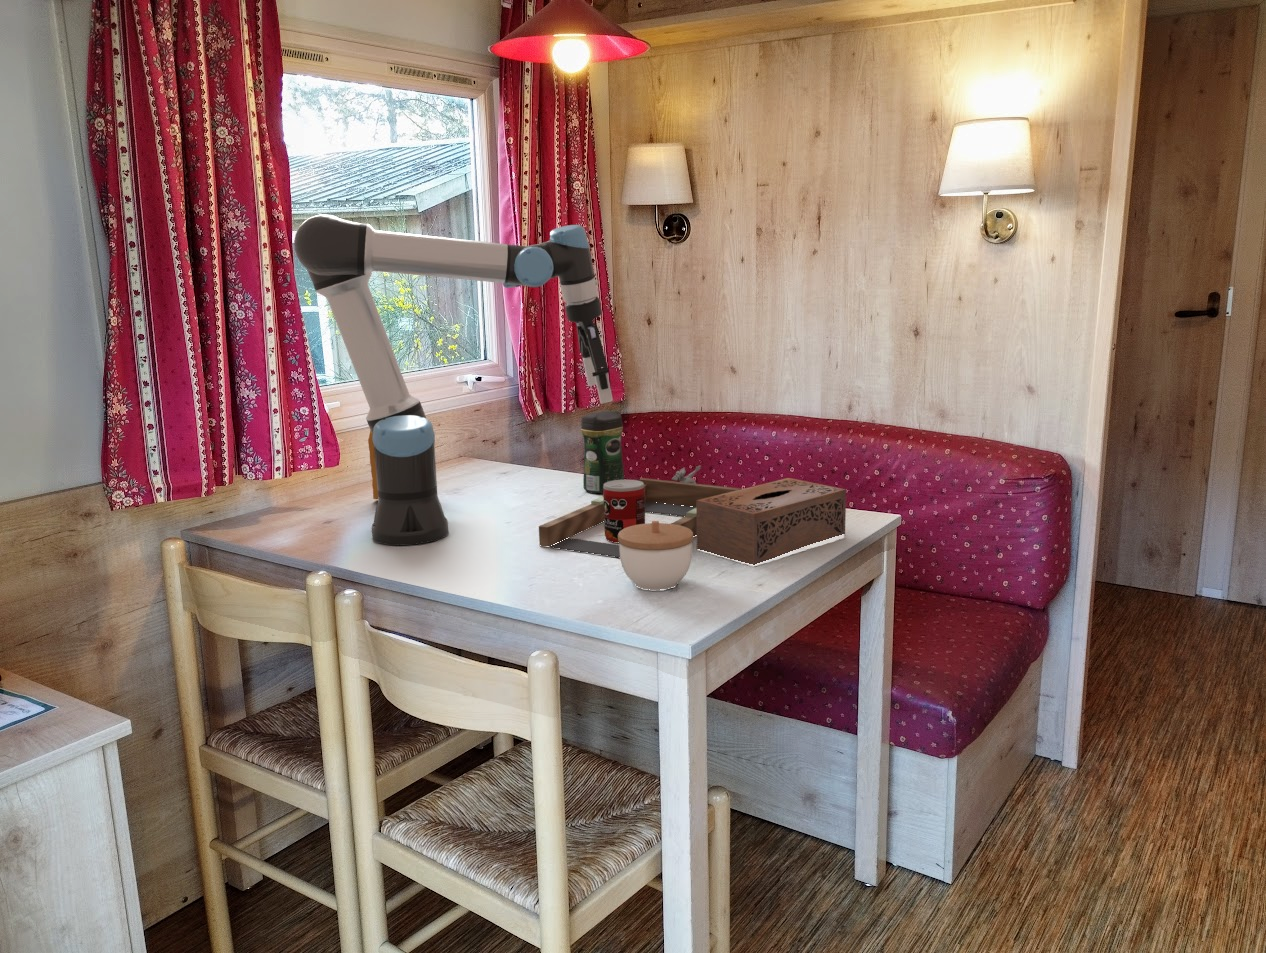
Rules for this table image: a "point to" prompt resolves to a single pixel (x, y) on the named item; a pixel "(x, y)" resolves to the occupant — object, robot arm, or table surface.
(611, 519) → the canned food
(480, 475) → the table surface
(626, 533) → the lidded bowl
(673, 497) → the lane box
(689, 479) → the grey toy figurine
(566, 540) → the near trap pad
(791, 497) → the tissue box cover
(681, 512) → the pad
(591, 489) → the coffee jar
